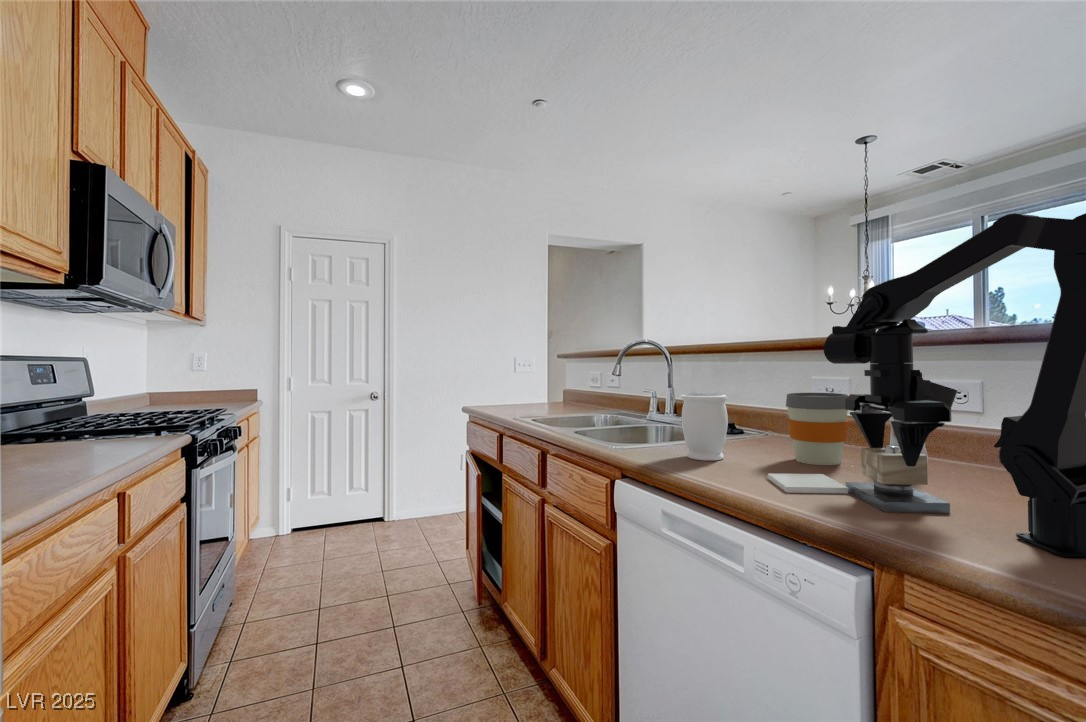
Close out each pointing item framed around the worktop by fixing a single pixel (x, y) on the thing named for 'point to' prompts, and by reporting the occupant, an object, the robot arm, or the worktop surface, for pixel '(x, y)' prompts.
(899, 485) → the post stand
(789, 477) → the tile pad
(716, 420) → the jar
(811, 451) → the reusable coffee cup
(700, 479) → the worktop surface
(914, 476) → the collar
